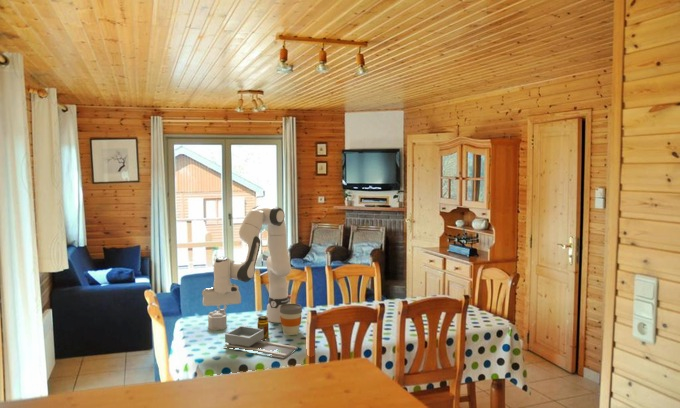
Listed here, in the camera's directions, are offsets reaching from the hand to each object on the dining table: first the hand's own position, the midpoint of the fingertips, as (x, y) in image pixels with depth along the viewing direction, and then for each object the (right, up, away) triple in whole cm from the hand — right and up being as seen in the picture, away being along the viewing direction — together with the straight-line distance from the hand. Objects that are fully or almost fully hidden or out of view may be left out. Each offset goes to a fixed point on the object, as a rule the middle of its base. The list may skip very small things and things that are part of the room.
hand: (222, 312), depth 302 cm
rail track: (+22, -17, -8) cm, 29 cm away
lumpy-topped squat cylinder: (-8, -13, +27) cm, 32 cm away
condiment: (+20, -16, +8) cm, 27 cm away
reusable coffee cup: (+36, -15, +18) cm, 42 cm away
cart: (+13, -15, -4) cm, 20 cm away
